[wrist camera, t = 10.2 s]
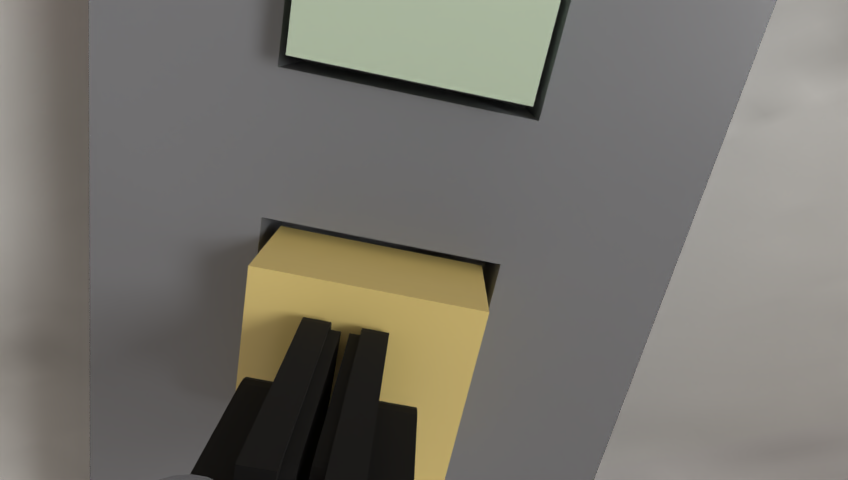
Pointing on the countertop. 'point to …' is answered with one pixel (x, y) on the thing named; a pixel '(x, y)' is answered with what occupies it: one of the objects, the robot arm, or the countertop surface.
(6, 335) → the countertop surface
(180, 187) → the console
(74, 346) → the countertop surface
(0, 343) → the countertop surface
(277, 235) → the ochre key
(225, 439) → the robot arm
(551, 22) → the sage key
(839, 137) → the countertop surface
